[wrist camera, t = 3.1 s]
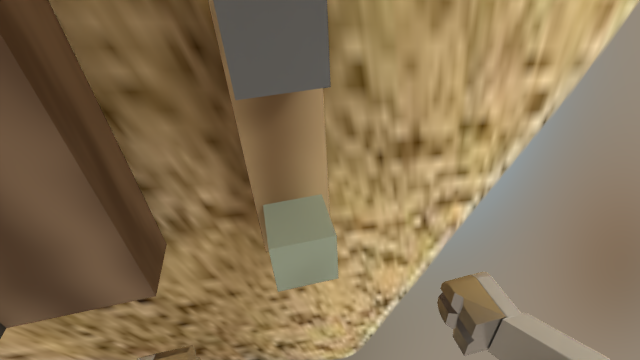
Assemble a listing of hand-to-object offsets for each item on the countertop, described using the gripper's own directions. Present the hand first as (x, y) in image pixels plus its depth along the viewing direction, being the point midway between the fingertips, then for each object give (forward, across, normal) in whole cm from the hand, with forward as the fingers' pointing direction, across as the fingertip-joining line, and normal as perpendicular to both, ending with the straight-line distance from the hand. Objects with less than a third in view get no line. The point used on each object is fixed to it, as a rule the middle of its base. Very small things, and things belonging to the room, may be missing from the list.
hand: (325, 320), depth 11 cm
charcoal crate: (+11, 0, -7) cm, 13 cm away
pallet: (+15, 0, 0) cm, 16 cm away
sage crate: (+12, 0, +6) cm, 13 cm away
